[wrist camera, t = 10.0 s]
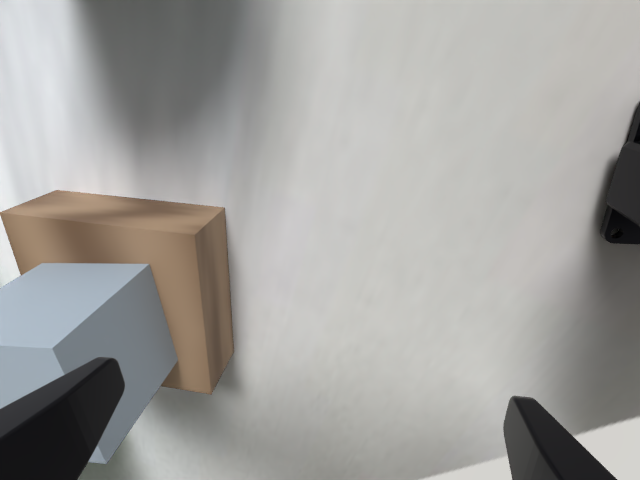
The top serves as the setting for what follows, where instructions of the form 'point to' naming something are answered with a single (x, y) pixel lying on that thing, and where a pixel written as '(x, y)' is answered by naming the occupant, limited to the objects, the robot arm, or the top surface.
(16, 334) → the grey cube
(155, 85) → the top surface
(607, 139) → the top surface
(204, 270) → the walnut block
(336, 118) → the top surface
